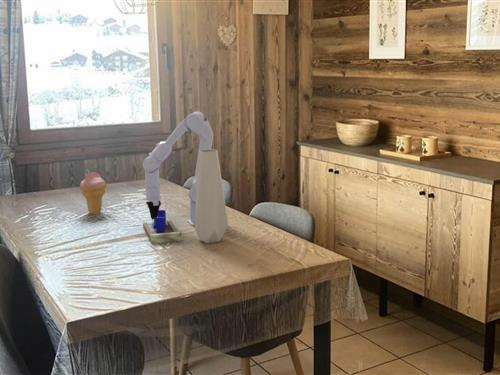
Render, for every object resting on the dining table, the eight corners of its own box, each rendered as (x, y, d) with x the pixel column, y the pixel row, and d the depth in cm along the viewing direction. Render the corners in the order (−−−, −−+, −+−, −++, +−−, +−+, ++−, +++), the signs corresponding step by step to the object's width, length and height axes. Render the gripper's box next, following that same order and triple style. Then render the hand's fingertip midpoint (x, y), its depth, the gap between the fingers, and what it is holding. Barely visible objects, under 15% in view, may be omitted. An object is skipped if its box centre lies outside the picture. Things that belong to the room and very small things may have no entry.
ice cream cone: (76, 214, 258) (73, 168, 254) (92, 208, 268) (89, 164, 264) (98, 217, 254) (94, 170, 250) (113, 210, 264) (110, 165, 260)
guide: (171, 225, 241) (170, 217, 240) (181, 240, 221) (181, 232, 220) (143, 227, 238) (142, 220, 237) (151, 243, 218) (150, 235, 217)
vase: (232, 236, 225) (231, 148, 218) (221, 245, 214) (219, 153, 207) (202, 233, 229) (199, 147, 222) (189, 242, 218) (186, 152, 211)
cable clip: (154, 224, 242) (154, 210, 241) (166, 224, 243) (165, 209, 241) (152, 233, 231) (152, 218, 229) (164, 233, 231) (164, 217, 230)
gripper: (140, 183, 249) (141, 215, 252) (145, 190, 235) (146, 224, 238) (157, 182, 251) (158, 213, 254) (163, 189, 237) (164, 222, 240)
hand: (154, 218), depth 246 cm, fingers closed
